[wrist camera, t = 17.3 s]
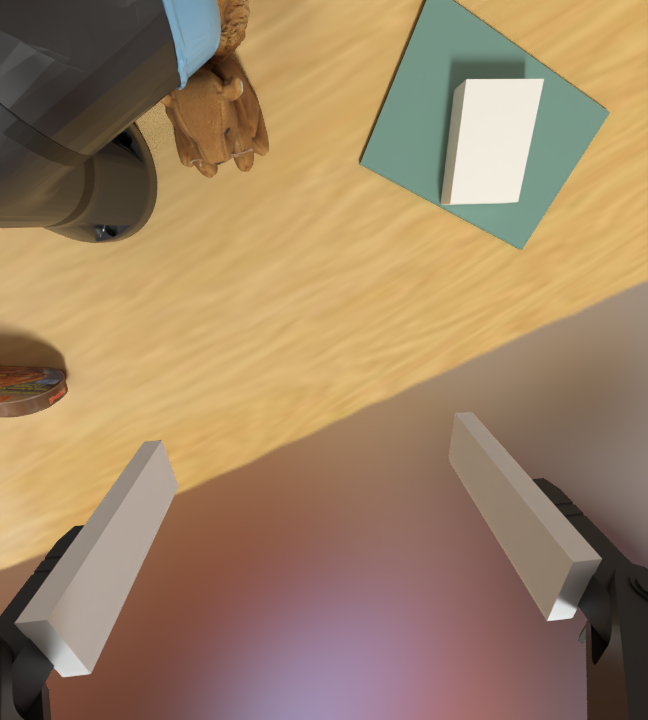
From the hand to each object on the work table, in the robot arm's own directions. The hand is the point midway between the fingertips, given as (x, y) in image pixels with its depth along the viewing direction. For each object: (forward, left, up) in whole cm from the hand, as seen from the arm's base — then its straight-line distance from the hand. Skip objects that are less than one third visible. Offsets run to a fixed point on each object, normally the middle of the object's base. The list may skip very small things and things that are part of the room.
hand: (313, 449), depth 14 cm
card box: (+14, +19, -29) cm, 37 cm away
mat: (+12, +25, -31) cm, 41 cm away
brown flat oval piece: (-33, -26, -31) cm, 52 cm away
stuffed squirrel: (-17, +17, -30) cm, 38 cm away
